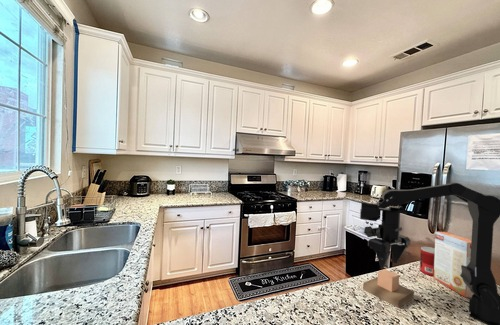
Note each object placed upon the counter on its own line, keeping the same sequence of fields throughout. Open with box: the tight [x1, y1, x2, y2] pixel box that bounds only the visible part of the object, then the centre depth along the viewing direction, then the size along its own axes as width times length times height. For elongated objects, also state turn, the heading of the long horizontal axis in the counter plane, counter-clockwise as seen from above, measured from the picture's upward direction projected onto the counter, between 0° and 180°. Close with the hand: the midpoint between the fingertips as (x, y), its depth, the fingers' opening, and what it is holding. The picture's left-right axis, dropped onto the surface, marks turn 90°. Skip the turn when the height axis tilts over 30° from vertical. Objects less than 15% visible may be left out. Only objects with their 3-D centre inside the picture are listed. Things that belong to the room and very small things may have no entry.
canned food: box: [419, 246, 435, 278], centre depth 97 cm, size 8×8×11 cm
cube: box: [377, 268, 400, 292], centre depth 79 cm, size 5×5×5 cm
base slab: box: [362, 276, 415, 309], centre depth 79 cm, size 12×12×3 cm
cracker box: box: [433, 231, 474, 299], centre depth 86 cm, size 14×6×21 cm, turn 179°
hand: (388, 264), depth 79 cm, fingers open, 9 cm apart
